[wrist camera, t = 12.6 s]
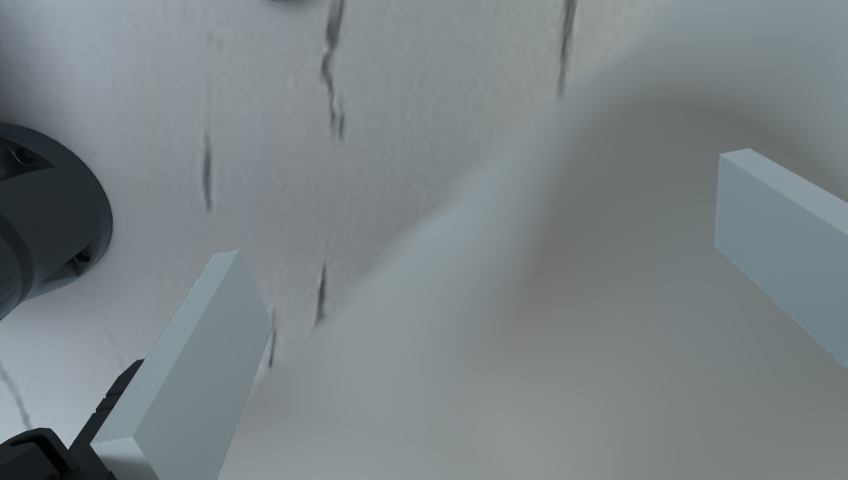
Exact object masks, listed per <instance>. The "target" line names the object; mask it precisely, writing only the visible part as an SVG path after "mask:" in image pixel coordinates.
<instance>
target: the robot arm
mask: <svg viewBox="0 0 848 480" xmlns="http://www.w3.org/2000/svg"><path fill="white" fill-rule="evenodd" d="M111 231H112V219H111V212H110V208H109V205H108V201H107V199H106V196H105V194H104V192H103V190H102V188H101V186H100V185H99V183H98V182H97V180H96V178H95V177H94V176H93V174H92V173H91V172H90V171H89V169H88V168H87V167H86V166H85V165H84V164H83V163H82V162H81V161H80V160H79V159H78V158H77V157H76V156H75V155H73V154H72V153H71V152H70V151H69V150H67V149H66V148H65V147H63V146H62V145H60V144H59V143H57V142H55V141H54V140H52V139H50V138H48V137H46V136H45V135H42V134H40V133H38V132H36V131H33V130H30V129H27V128H24V127H21V126H17V125H12V124H7V123H0V321H1V320H2V319H3V318H4V317H6V316H7V315H8V314H9V313H10V312H11V311H12V310H13V309H14V308H15V307H16V306H18V305H19V304H20V303H21V302H23V301H26V300H28V299H31V298H33V297H36V296H39V295H41V294H44V293H47V292H49V291H52V290H54V289H57V288H60V287H62V286H65V285H67V284H69V283H71V282H73V281H75V280H76V279H78V278H80V277H81V276H82V275H84V274H85V273H86V272H87V271H88V270H89V269H90V268H91V267H92V266H93V265H94V264H95V263H96V262H97V261H98V260H99V259H100V258H101V257H102V255H103V254H104V252H105V250H106V249H107V246H108V244H109V241H110V237H111ZM714 245H715V246H716V247H717V248H718V249H719V250H720V251H721V252H722V253H723V254H724V255H726V256H727V257H728V258H729V259H730V260H731V261H732V262H733V263H734V264H735V265H736V266H737V267H738V268H739V269H740V270H742V271H743V272H744V273H745V274H746V275H747V276H748V277H749V278H750V279H751V280H752V281H753V282H754V283H755V284H757V285H758V286H759V287H760V288H761V289H762V290H763V291H764V292H765V293H766V294H767V295H768V296H769V297H770V298H771V299H773V300H774V301H775V302H776V303H777V304H778V305H779V306H780V307H781V308H782V309H783V310H784V311H785V312H787V313H788V314H789V315H790V316H791V317H792V318H793V319H794V320H795V321H796V322H797V323H798V324H800V325H801V327H803V328H804V329H805V330H806V331H807V332H808V333H809V334H810V335H811V336H812V337H813V338H814V339H816V341H818V342H819V343H820V344H821V345H822V346H823V347H824V348H825V349H826V350H827V351H828V352H829V353H830V354H831V355H833V356H834V357H835V358H836V359H837V360H838V361H839V362H840V363H841V364H842V365H843V366H844V367H846V368H847V370H848V203H846V202H844V201H843V200H841V199H839V198H837V197H835V196H834V195H832V194H830V193H828V192H827V191H825V190H823V189H821V188H819V187H818V186H816V185H814V184H812V183H810V182H808V181H807V180H805V179H803V178H801V177H800V176H798V175H796V174H794V173H792V172H790V171H789V170H787V169H785V168H783V167H782V166H780V165H778V164H776V163H774V162H773V161H771V160H769V159H767V158H766V157H764V156H762V155H760V154H758V153H756V152H755V151H753V150H751V149H744V150H739V151H734V152H729V153H724V154H720V156H719V172H718V189H717V206H716V223H715V241H714ZM271 330H272V325H271V322H270V320H269V317H268V315H267V313H266V310H265V308H264V305H263V303H262V301H261V298H260V296H259V293H258V291H257V288H256V286H255V284H254V281H253V279H252V276H251V274H250V272H249V269H248V267H247V264H246V262H245V260H244V257H243V255H242V252H241V250H240V249H236V250H230V251H225V252H220V253H215V254H213V256H212V257H211V259H210V260H209V262H208V263H207V265H206V266H205V268H204V269H203V271H202V273H201V274H200V276H199V277H198V279H197V280H196V282H195V283H194V285H193V286H192V288H191V289H190V291H189V293H188V294H187V296H186V297H185V299H184V300H183V302H182V303H181V305H180V306H179V308H178V309H177V311H176V313H175V314H174V316H173V317H172V319H171V320H170V322H169V323H168V325H167V326H166V328H165V329H164V331H163V332H162V334H161V336H160V337H159V339H158V340H157V342H156V343H155V345H154V346H153V348H152V349H151V351H150V352H149V354H148V356H147V357H146V359H142V360H137V361H136V362H134V363H133V364H132V365H131V366H130V367H129V368H128V369H127V370H125V371H124V372H123V373H122V374H121V375H120V376H119V377H118V378H117V379H116V381H115V382H114V384H113V385H112V387H111V388H110V389H109V391H108V392H107V394H106V398H103V400H102V401H101V403H100V404H99V405H98V407H97V408H96V413H93V414H92V416H91V417H90V419H89V420H88V421H87V423H86V424H85V426H84V427H83V429H82V430H81V432H80V433H79V435H78V436H77V437H76V439H75V440H74V442H73V443H72V445H71V446H70V448H69V449H68V450H67V448H66V447H65V445H64V444H63V443H62V441H61V440H60V439H59V437H58V436H57V435H56V433H55V432H54V431H53V430H51V429H50V428H37V429H33V430H29V431H25V432H23V433H21V434H19V435H16V436H14V437H12V438H10V439H8V440H7V441H5V442H4V443H2V444H1V445H0V480H217V479H218V476H219V473H220V470H221V467H222V465H223V462H224V459H225V457H226V453H227V451H228V448H229V445H230V443H231V440H232V437H233V434H234V432H235V429H236V426H237V423H238V421H239V418H240V415H241V412H242V410H243V407H244V404H245V401H246V399H247V396H248V393H249V390H250V388H251V385H252V382H253V379H254V377H255V374H256V371H257V368H258V366H259V363H260V360H261V357H262V354H263V352H264V349H265V346H266V343H267V341H268V338H269V335H270V332H271Z"/></svg>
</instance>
